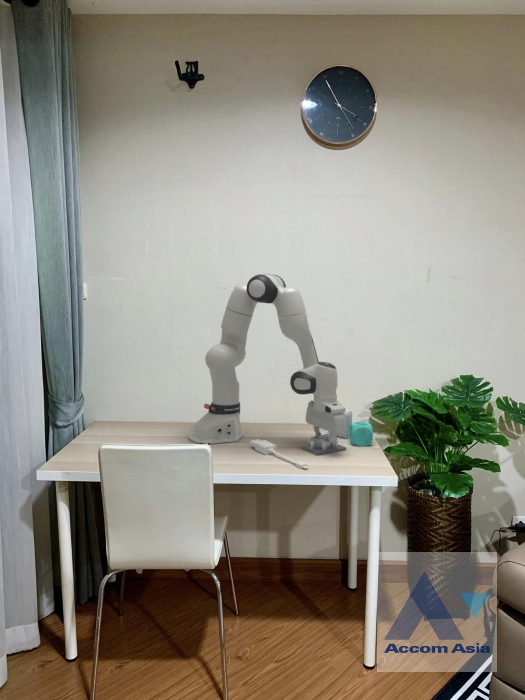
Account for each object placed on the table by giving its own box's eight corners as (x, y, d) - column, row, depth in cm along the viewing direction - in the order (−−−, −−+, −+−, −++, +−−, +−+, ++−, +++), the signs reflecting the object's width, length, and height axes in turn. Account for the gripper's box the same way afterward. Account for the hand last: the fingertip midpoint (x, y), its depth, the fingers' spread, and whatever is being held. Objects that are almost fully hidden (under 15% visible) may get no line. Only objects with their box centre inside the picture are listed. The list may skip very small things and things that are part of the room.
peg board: (317, 455, 228) (317, 445, 227) (301, 448, 236) (301, 438, 235) (346, 450, 235) (346, 439, 234) (329, 443, 243) (330, 433, 243)
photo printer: (352, 437, 253) (354, 408, 252) (346, 439, 250) (348, 409, 248) (332, 432, 260) (333, 404, 259) (326, 434, 257) (327, 405, 255)
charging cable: (300, 474, 210) (301, 464, 210) (248, 447, 236) (249, 438, 236) (312, 471, 213) (312, 462, 212) (259, 445, 239) (259, 437, 238)
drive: (318, 450, 231) (318, 439, 230) (310, 446, 235) (310, 436, 235) (336, 446, 236) (337, 436, 235) (328, 443, 240) (328, 433, 239)
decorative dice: (352, 446, 240) (353, 426, 239) (349, 440, 248) (349, 421, 247) (372, 446, 240) (373, 426, 239) (368, 440, 248) (369, 421, 247)
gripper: (302, 400, 240) (301, 434, 242) (335, 410, 223) (334, 447, 225) (315, 398, 243) (314, 432, 245) (348, 408, 226) (347, 445, 228)
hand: (323, 439), depth 235 cm, fingers open, 6 cm apart
